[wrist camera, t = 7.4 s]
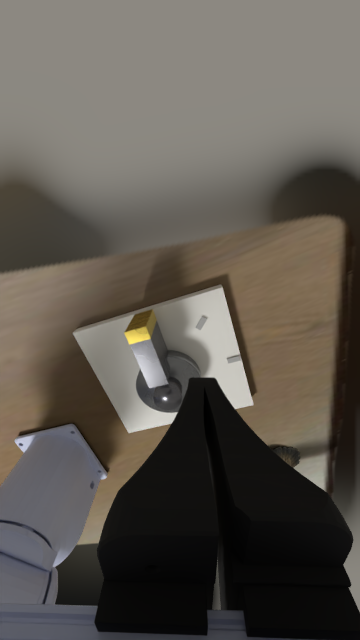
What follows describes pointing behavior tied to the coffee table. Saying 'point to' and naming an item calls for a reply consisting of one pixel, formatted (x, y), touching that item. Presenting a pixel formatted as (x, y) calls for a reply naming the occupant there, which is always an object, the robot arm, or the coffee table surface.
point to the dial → (158, 365)
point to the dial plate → (179, 335)
